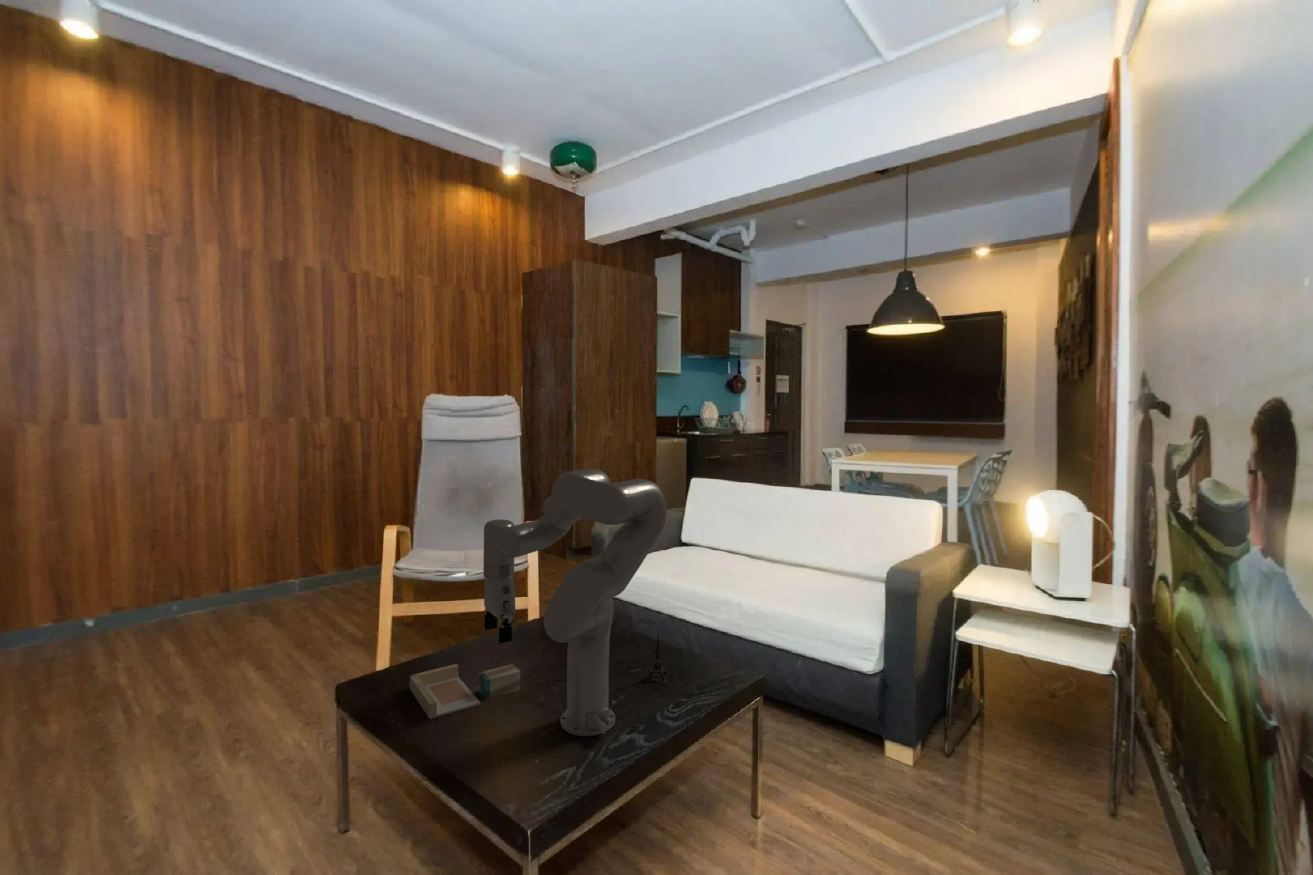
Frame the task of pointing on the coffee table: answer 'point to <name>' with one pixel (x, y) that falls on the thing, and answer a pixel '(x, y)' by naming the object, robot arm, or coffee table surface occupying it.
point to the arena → (441, 691)
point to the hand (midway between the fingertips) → (497, 635)
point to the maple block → (499, 681)
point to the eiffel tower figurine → (655, 667)
